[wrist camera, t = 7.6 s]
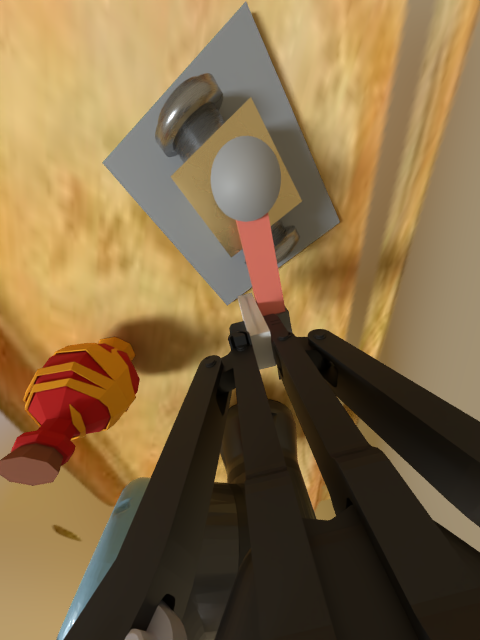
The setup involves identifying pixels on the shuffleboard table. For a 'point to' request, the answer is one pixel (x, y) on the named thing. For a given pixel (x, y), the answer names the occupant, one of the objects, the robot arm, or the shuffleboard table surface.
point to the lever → (252, 213)
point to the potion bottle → (71, 406)
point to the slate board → (237, 87)
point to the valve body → (201, 149)
